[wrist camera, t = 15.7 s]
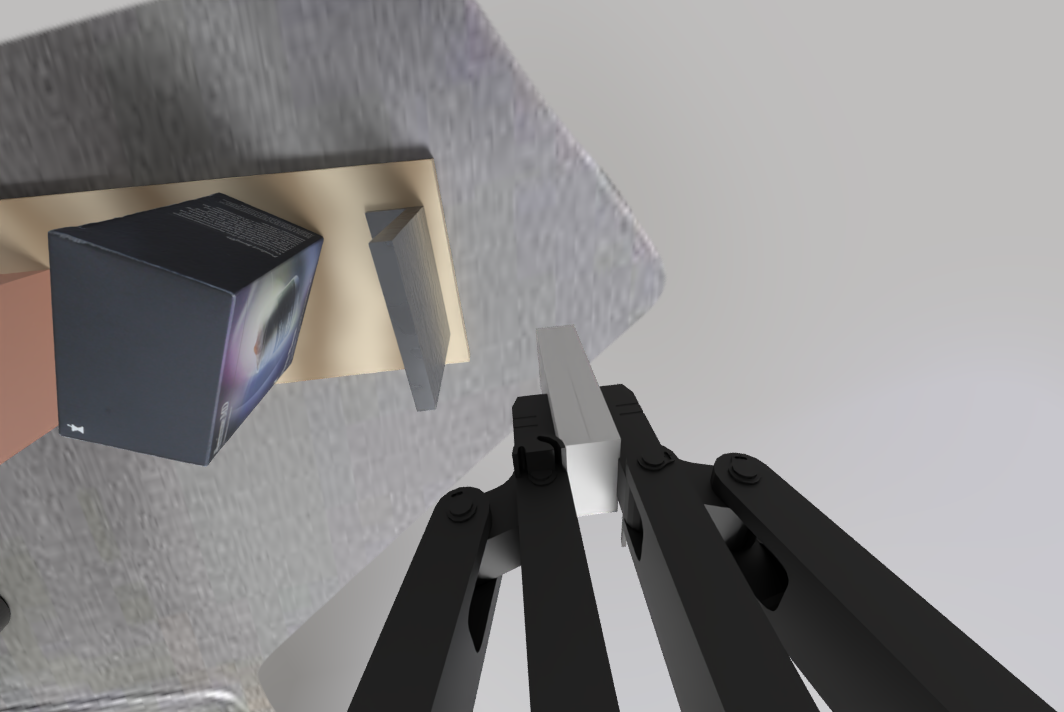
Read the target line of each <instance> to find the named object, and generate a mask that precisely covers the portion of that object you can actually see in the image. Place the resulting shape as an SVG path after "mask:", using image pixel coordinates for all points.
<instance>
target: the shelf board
mask: <svg viewBox="0 0 1064 712" xmlns="http://www.w3.org/2000/svg"><path fill="white" fill-rule="evenodd" d="M219 192H220V193H223V194H226V195H228V196H230V197H232V198H235V199H237V200H240V201H242V202H244V203H247V204H249V205H251V206H254V207H256V208H258V209H261V210H263V211H265V212H268V213H270V214H273V215H275V216H277V217H280V218H282V219H284V220H287V221H289V222H291V223H293V224H296V225H298V226H301V227H303V228H305V229H307V230H310V231H312V232H314V233H317V234H319V235H321V236H323V238H324V242H323V245H322V249H321V253H320V256H319V261H318V265H317V268H316V272H315V276H314V280H313V284H312V287H311V291H310V295H309V299H308V303H307V306H306V310H305V314H304V318H303V322H302V326H301V329H300V333H299V337H298V341H297V345H296V349H295V353H294V356H293V360H292V363H291V365H290V366H289V367H288V368H287V370H286V371H285V372H284V373H283V374H282V375H281V377H280V378H279V379H278V380H277V381H276V383H275V384H280V383H289V382H298V381H306V380H315V379H323V378H332V377H341V376H349V375H358V374H366V373H375V372H383V371H392V370H401V369H405V368H404V364H403V361H402V357H401V354H400V351H399V347H398V344H397V340H396V337H395V333H394V330H393V327H392V323H391V320H390V316H389V313H388V310H387V306H386V303H385V299H384V296H383V292H382V289H381V286H380V282H379V279H378V275H377V272H376V268H375V265H374V262H373V258H372V255H371V251H370V248H369V244H368V243H369V242H370V241H371V240H372V237H371V233H370V230H369V226H368V223H367V219H366V216H365V212H367V211H376V210H386V209H396V208H406V207H416V206H424V209H425V214H426V219H427V224H428V228H429V233H430V238H431V243H432V248H433V252H434V257H435V262H436V267H437V271H438V276H439V281H440V286H441V290H442V295H443V300H444V305H445V310H446V314H447V319H448V324H449V329H450V333H451V335H450V340H449V345H448V350H447V356H446V361H445V364H452V363H461V362H469V361H470V351H469V346H468V340H467V335H466V330H465V324H464V319H463V314H462V308H461V303H460V298H459V292H458V287H457V282H456V276H455V271H454V265H453V260H452V255H451V249H450V244H449V239H448V233H447V228H446V223H445V217H444V212H443V207H442V201H441V196H440V190H439V185H438V180H437V174H436V169H435V164H434V158H432V159H421V160H411V161H400V162H390V163H379V164H368V165H358V166H347V167H337V168H326V169H316V170H305V171H295V172H284V173H274V174H263V175H253V176H242V177H232V178H221V179H211V180H200V181H190V182H179V183H169V184H158V185H148V186H137V187H127V188H116V189H106V190H95V191H84V192H74V193H63V194H53V195H42V196H32V197H21V198H11V199H0V274H9V273H18V272H28V271H38V270H48V269H50V266H49V250H48V231H50V230H53V229H58V228H63V227H70V226H74V227H76V226H79V225H84V224H88V223H93V222H100V221H105V220H109V219H113V218H116V217H123V216H125V215H130V214H134V213H137V212H142V211H147V210H151V209H155V208H159V207H164V206H168V205H172V204H178V203H181V202H184V201H188V200H194V199H197V198H201V197H205V196H209V195H211V194H214V193H219Z"/></svg>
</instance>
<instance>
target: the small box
mask: <svg viewBox="0 0 1064 712" xmlns="http://www.w3.org/2000/svg"><path fill="white" fill-rule="evenodd" d="M323 242H324V238H323V236H321V235H319V234H317V233H314V232H312V231H310V230H307V229H305V228H303V227H301V226H298V225H296V224H293V223H291V222H289V221H287V220H284V219H282V218H280V217H277V216H275V215H273V214H270V213H268V212H265V211H263V210H261V209H258V208H256V207H254V206H251V205H249V204H247V203H244V202H242V201H240V200H237V199H235V198H232V197H230V196H228V195H226V194H223V193H220V192H219V193H214V194H211V195H209V196H205V197H201V198H197V199H194V200H188V201H184V202H181V203H178V204H172V205H168V206H164V207H159V208H155V209H151V210H147V211H142V212H137V213H134V214H130V215H125V216H123V217H116V218H113V219H109V220H105V221H100V222H93V223H88V224H84V225H79V226H76V227H74V226H70V227H63V228H58V229H53V230H50V231H48V250H49V266H50V285H51V304H52V321H53V336H54V355H55V374H56V390H57V408H58V423H59V434H60V435H61V436H63V437H67V438H72V439H78V440H82V441H86V442H91V443H96V444H101V445H105V446H110V447H114V448H119V449H124V450H129V451H133V452H138V453H142V454H147V455H152V456H157V457H161V458H166V459H170V460H175V461H180V462H185V463H189V464H195V465H199V466H203V467H204V466H208V465H209V463H210V462H211V460H212V459H213V458H214V456H215V455H216V454H217V453H218V451H219V450H220V449H221V448H222V447H223V445H224V444H225V443H226V442H227V441H228V440H229V438H230V437H231V436H232V435H233V433H234V432H235V431H236V430H237V429H238V427H239V426H240V425H241V424H242V422H243V421H244V420H245V419H246V418H247V416H248V415H249V414H250V413H251V412H252V410H253V409H254V408H255V407H256V406H257V404H258V403H259V402H260V401H261V399H262V398H263V397H264V396H265V395H266V393H267V392H268V391H269V390H270V389H271V387H272V386H273V385H274V384H275V383H276V381H277V380H278V379H279V378H280V377H281V375H282V374H283V373H284V372H285V371H286V370H287V368H288V367H289V366H290V365H291V363H292V360H293V356H294V353H295V349H296V345H297V341H298V337H299V333H300V329H301V326H302V322H303V318H304V314H305V310H306V306H307V303H308V299H309V295H310V291H311V287H312V284H313V280H314V276H315V272H316V268H317V265H318V261H319V256H320V253H321V249H322V245H323Z"/></svg>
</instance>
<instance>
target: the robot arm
mask: <svg viewBox="0 0 1064 712" xmlns="http://www.w3.org/2000/svg"><path fill="white" fill-rule="evenodd" d="M536 336H537V348H538V360H539V372H540V384H541V390H542V394H539V395H530V396H522V397H517V399H516V401H515V403H514V405H513V406H512V414H513V428H514V445H515V446H514V447H513V452H512V458H513V465H514V472H513V475H512V476H511V477H510V478H509V480H508V481H506V482H505V483H504V484H503V485H501V486H499V487H497V488H495V489H493V490H490V491H488V492H485V493H484V492H482V491H481V490H480V489H478V488H474V487H459V488H457V489H455V490H452V491H449V492H448V493H447V494H446V495H444V496H443V497H442V498H441V499H440V500H439V502H438V503H437V505H436V506H435V509H434V511H433V513H432V516H431V518H430V520H429V522H428V525H427V527H426V530H425V532H424V534H423V536H422V539H421V541H420V543H419V546H418V548H417V550H416V553H415V555H414V557H413V560H412V562H411V565H410V567H409V569H408V571H407V574H406V576H405V578H404V581H403V583H402V585H401V587H400V590H399V592H398V595H397V597H396V599H395V601H394V604H393V606H392V608H391V611H390V613H389V615H388V618H387V620H386V622H385V625H384V627H383V629H382V632H381V634H380V637H379V639H378V641H377V643H376V646H375V648H374V650H373V653H372V655H371V657H370V660H369V662H368V664H367V666H366V669H365V671H364V673H363V676H362V678H361V681H360V683H359V685H358V687H357V690H356V692H355V694H354V697H353V699H352V702H351V704H350V706H349V708H348V711H347V712H473V708H474V703H475V699H476V694H477V689H478V685H479V680H480V675H481V671H482V666H483V662H484V657H485V653H486V648H487V644H488V638H489V634H490V630H491V625H492V621H493V615H494V611H495V606H496V602H497V597H498V593H499V588H500V584H501V579H502V574H504V573H506V572H508V571H510V570H513V569H515V568H517V567H518V566H521V569H522V585H523V601H524V615H525V630H526V646H527V661H528V676H529V691H530V707H531V712H620V710H619V706H618V701H617V696H616V692H615V687H614V683H613V678H612V674H611V669H610V664H609V660H608V655H607V651H606V646H605V642H604V637H603V632H602V628H601V623H600V619H599V614H598V610H597V605H596V600H595V596H594V592H593V587H592V582H591V578H590V573H589V568H588V564H587V559H586V555H585V550H584V546H583V541H582V537H581V532H580V528H579V523H578V518H577V517H578V516H586V515H594V514H602V513H609V512H617V509H618V501H619V504H620V507H621V510H622V513H623V517H622V518H623V519H622V533H621V543H622V547H624V546H626V541H627V544H628V547H629V550H630V553H631V556H632V559H633V562H634V566H635V569H636V572H637V575H638V578H639V581H640V584H641V587H642V590H643V594H644V597H645V600H646V603H647V606H648V609H649V612H650V615H651V619H652V622H653V625H654V628H655V631H656V634H657V637H658V640H659V644H660V647H661V650H662V653H663V656H664V659H665V662H666V665H667V668H668V671H669V675H670V678H671V681H672V684H673V687H674V690H675V693H676V697H677V700H678V703H679V706H680V709H681V712H820V711H819V709H818V707H817V706H816V704H815V702H814V700H813V699H812V697H811V695H810V693H809V691H808V690H807V688H806V686H805V684H804V682H803V681H802V679H801V677H800V675H799V674H798V672H797V670H796V668H795V667H794V665H793V663H792V661H793V662H794V663H795V664H796V666H797V667H798V668H799V670H800V671H801V672H802V673H803V675H804V676H805V677H806V678H807V680H808V681H809V682H810V683H811V685H812V686H813V687H814V689H815V690H816V691H817V692H818V694H819V695H820V696H821V698H822V699H823V700H824V701H825V703H826V704H827V705H828V706H829V708H830V709H831V710H832V712H1057V711H1055V710H1054V709H1053V708H1052V707H1051V706H1049V705H1048V704H1047V703H1046V702H1045V701H1044V700H1042V699H1041V698H1040V697H1039V696H1038V695H1037V694H1035V693H1034V692H1033V691H1032V690H1031V689H1030V688H1028V687H1027V686H1026V685H1025V684H1024V683H1022V682H1021V681H1020V680H1019V679H1018V678H1017V677H1015V676H1014V675H1013V674H1012V673H1011V672H1009V671H1008V670H1007V669H1006V668H1005V667H1004V666H1002V665H1001V664H1000V663H999V662H998V661H997V660H995V659H994V658H993V657H992V656H991V655H989V654H988V653H987V652H986V651H985V650H984V649H982V648H981V647H980V646H979V645H978V644H977V643H975V642H974V641H973V640H972V639H971V638H969V637H968V636H967V635H966V634H965V633H963V632H962V631H961V630H960V629H959V628H958V627H956V626H955V625H954V624H953V623H952V622H951V621H949V620H948V619H947V618H946V617H945V616H943V615H942V614H941V613H940V612H939V611H938V610H937V609H935V608H934V607H933V606H932V605H930V604H929V603H928V602H927V601H926V600H925V599H924V598H922V597H921V596H920V595H919V594H918V593H916V592H915V591H914V590H913V589H912V588H911V587H909V586H908V585H907V584H906V583H905V582H904V581H902V580H901V579H900V578H899V577H898V576H896V575H895V574H894V573H893V572H892V571H890V570H889V569H888V568H887V567H886V566H885V565H884V564H882V563H881V562H880V561H879V560H878V559H876V558H875V557H874V556H873V555H871V553H869V552H868V551H867V550H866V549H865V548H863V547H862V546H861V545H860V544H859V543H858V542H856V541H855V540H854V539H853V538H852V537H850V536H849V535H848V534H847V533H846V532H845V531H843V530H842V529H841V528H840V527H839V526H838V525H836V524H835V523H834V522H833V521H832V520H830V519H829V518H828V517H827V516H826V515H825V514H823V513H822V512H821V511H820V510H819V509H818V508H816V507H815V506H814V505H813V504H812V503H810V502H809V501H808V500H807V499H806V498H805V497H803V496H802V495H801V494H800V493H798V491H796V490H795V489H794V488H793V487H792V486H790V485H789V484H788V483H787V482H786V481H785V480H783V479H782V478H781V477H780V476H779V475H777V474H776V473H775V472H774V471H773V470H772V469H770V468H769V467H768V466H767V465H766V464H764V463H763V462H761V461H759V460H758V459H756V458H754V457H751V456H749V455H746V454H740V453H728V454H723V455H722V456H720V457H719V458H717V459H716V461H715V463H714V466H713V465H705V464H697V463H691V462H687V461H683V460H680V459H678V458H677V456H676V455H675V454H674V453H673V451H671V450H669V449H667V448H666V447H665V446H662V445H661V444H660V442H659V440H658V438H657V437H656V435H655V433H654V431H653V429H652V427H651V425H650V424H649V421H648V420H647V418H646V416H645V414H644V413H643V410H642V408H641V406H640V405H639V404H638V401H637V399H636V397H635V395H634V393H633V392H632V391H631V390H629V389H628V388H627V387H625V386H624V385H623V384H617V385H609V386H600V387H599V385H598V382H597V380H596V377H595V375H594V373H593V370H592V368H591V365H590V363H589V360H588V358H587V356H586V353H585V351H584V348H583V346H582V343H581V341H580V339H579V336H578V334H577V331H576V329H575V326H574V325H565V326H556V327H547V328H538V329H536ZM9 620H10V611H9V609H8V607H7V605H6V604H5V602H4V601H3V600H2V599H1V598H0V631H1V630H2V629H3V628H4V627H5V626H6V625H7V624H8V622H9ZM790 658H791V659H792V661H791V659H790Z"/></svg>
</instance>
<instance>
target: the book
mask: <svg viewBox="0 0 1064 712" xmlns="http://www.w3.org/2000/svg"><path fill="white" fill-rule="evenodd" d="M58 425H59V423H58V408H57V390H56V374H55V355H54V336H53V321H52V304H51V285H50V269H48V270H38V271H28V272H18V273H9V274H0V464H2V463H3V462H5V461H6V460H8V459H9V458H11V457H12V456H14V455H15V454H17V453H18V452H20V451H21V450H23V449H24V448H25V447H27V446H28V445H30V444H31V443H33V442H34V441H36V440H37V439H39V438H40V437H42V436H43V435H45V434H46V433H48V432H49V431H51V430H52V429H54V428H55V427H56V426H58Z"/></svg>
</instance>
